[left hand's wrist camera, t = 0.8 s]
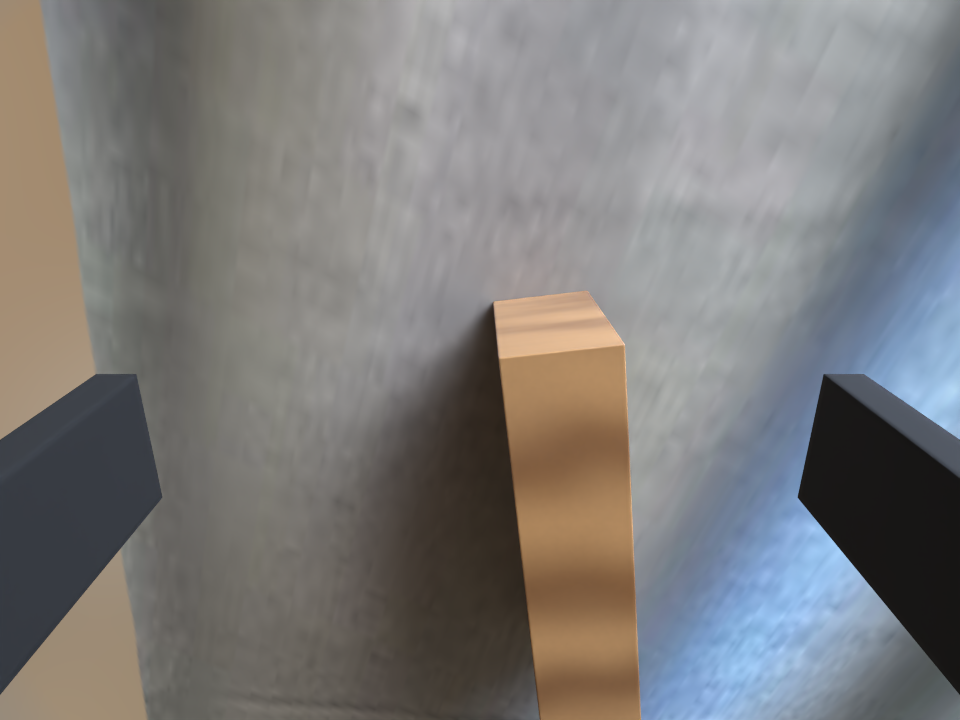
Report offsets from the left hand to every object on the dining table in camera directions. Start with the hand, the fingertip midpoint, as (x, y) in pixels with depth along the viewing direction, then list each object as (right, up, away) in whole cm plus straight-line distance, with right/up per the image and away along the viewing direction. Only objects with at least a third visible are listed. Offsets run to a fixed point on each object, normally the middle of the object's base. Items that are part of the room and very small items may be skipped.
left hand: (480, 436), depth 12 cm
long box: (+5, -6, +32) cm, 33 cm away
